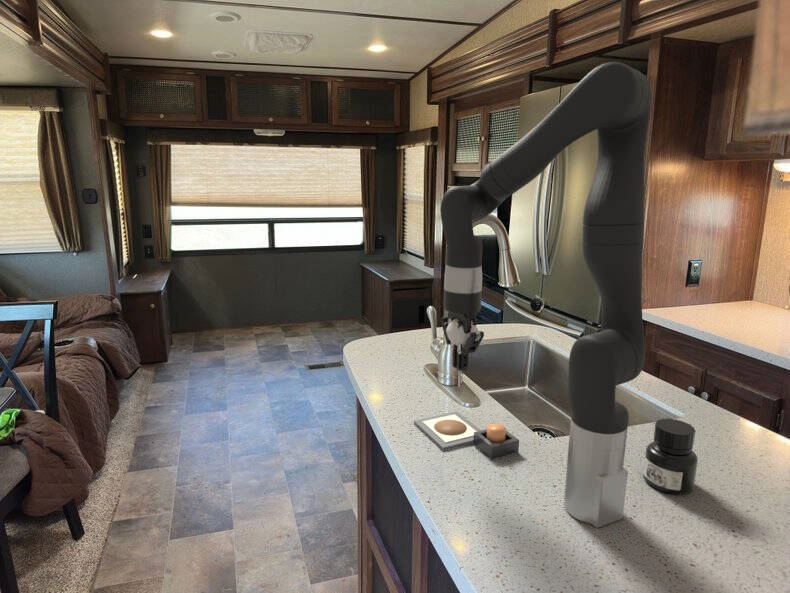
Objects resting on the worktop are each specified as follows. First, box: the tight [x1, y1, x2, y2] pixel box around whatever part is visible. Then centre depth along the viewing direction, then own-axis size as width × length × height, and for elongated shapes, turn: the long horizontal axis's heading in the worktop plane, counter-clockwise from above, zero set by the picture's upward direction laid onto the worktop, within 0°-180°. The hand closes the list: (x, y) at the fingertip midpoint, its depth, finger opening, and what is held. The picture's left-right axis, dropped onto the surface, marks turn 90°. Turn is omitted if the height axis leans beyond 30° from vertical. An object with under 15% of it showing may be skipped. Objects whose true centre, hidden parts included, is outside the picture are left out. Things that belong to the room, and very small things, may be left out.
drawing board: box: [413, 411, 482, 452], centre depth 125 cm, size 14×12×1 cm
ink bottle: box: [642, 418, 699, 495], centre depth 103 cm, size 10×9×12 cm
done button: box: [486, 423, 507, 444], centre depth 116 cm, size 4×4×3 cm
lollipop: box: [446, 319, 470, 388], centre depth 110 cm, size 6×6×15 cm
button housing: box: [472, 428, 520, 461], centre depth 117 cm, size 7×7×3 cm
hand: (459, 368), depth 111 cm, fingers closed on lollipop, 1 cm apart
